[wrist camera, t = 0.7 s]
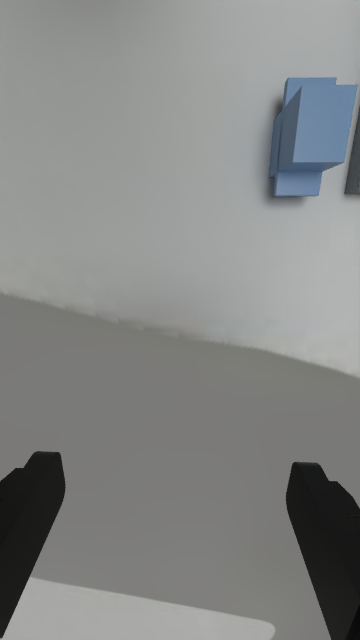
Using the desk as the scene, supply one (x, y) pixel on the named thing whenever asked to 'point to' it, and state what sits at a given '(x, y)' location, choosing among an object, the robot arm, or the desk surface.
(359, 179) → the plate
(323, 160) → the block
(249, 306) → the desk surface
